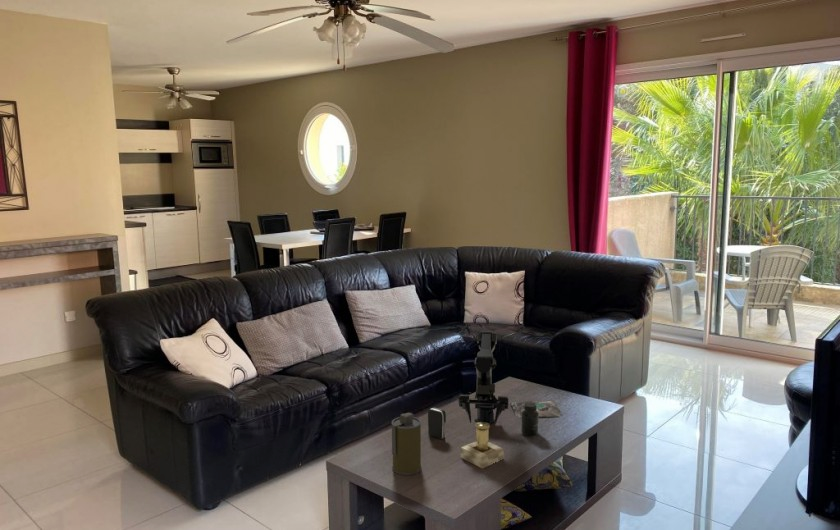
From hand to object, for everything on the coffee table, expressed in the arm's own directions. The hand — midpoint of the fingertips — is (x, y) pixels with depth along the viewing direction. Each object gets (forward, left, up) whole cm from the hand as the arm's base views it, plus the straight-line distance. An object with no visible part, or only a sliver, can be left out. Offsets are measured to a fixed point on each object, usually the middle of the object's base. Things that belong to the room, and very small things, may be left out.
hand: (482, 423), depth 228 cm
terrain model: (-13, +47, -12) cm, 50 cm away
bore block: (+3, -3, -12) cm, 13 cm away
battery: (-22, -3, -12) cm, 25 cm away
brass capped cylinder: (+3, -3, -12) cm, 13 cm away
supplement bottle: (0, +27, -12) cm, 29 cm away
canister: (-9, -29, -12) cm, 33 cm away
